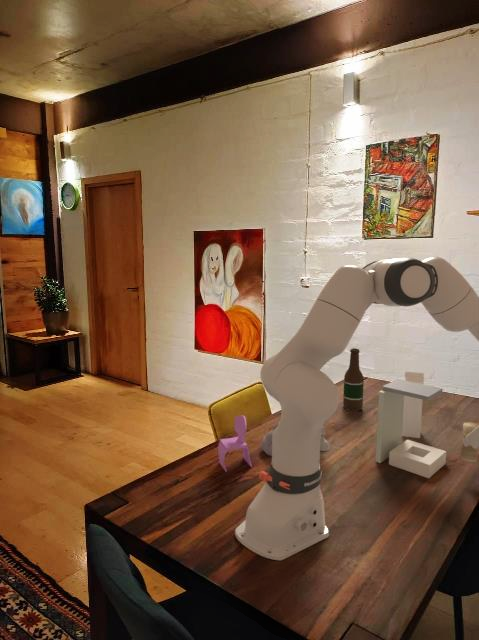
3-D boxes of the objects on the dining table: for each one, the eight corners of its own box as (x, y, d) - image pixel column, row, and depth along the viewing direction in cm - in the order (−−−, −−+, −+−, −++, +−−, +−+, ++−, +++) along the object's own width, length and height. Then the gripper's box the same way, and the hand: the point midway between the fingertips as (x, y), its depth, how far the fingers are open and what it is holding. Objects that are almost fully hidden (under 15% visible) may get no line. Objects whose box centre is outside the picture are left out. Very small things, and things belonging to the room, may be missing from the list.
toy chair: (216, 461, 141) (215, 414, 139) (243, 456, 145) (243, 410, 142) (225, 474, 134) (224, 424, 131) (253, 468, 137) (253, 420, 134)
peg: (474, 464, 126) (476, 429, 124) (458, 459, 128) (461, 425, 127) (478, 459, 129) (481, 424, 127) (463, 454, 131) (466, 421, 130)
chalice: (332, 453, 146) (334, 398, 143) (310, 451, 148) (312, 397, 145) (332, 443, 154) (334, 391, 151) (312, 441, 155) (313, 389, 152)
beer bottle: (339, 405, 189) (341, 347, 185) (356, 403, 191) (358, 346, 187) (349, 412, 182) (351, 352, 178) (366, 409, 184) (369, 350, 180)
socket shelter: (427, 479, 130) (432, 400, 126) (375, 461, 141) (379, 387, 137) (446, 462, 140) (452, 388, 136) (396, 446, 151) (400, 377, 147)
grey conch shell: (282, 470, 141) (275, 441, 138) (257, 456, 151) (250, 428, 147) (309, 449, 148) (303, 421, 144) (283, 437, 157) (277, 410, 153)
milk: (420, 438, 157) (424, 375, 153) (401, 436, 159) (404, 374, 155) (419, 431, 163) (424, 370, 159) (401, 429, 165) (405, 369, 161)
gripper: (512, 395, 128) (472, 420, 137) (489, 415, 114) (445, 441, 122) (529, 414, 126) (487, 438, 134) (508, 438, 111) (462, 463, 120)
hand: (467, 440), depth 128 cm, fingers closed on peg, 4 cm apart
